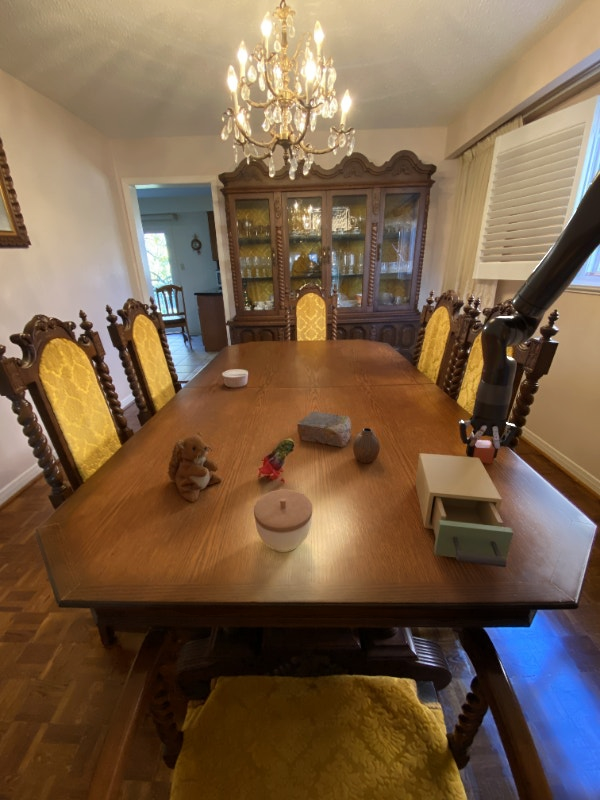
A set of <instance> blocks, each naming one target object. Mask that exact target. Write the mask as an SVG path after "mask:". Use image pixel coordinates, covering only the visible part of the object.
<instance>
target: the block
mask: <svg viewBox="0 0 600 800" xmlns="http://www.w3.org/2000/svg"><path fill="white" fill-rule="evenodd" d="M474 447H475V448H474V453H473V457H475V458H479V459H480V461H481V463H482V464H489V465H492V464H493V461H494V460H493V456H494V452H495V448H494V446H493V445H492V441H490V440H487V439H479V440H477V442H476V444H475V445H474Z"/></svg>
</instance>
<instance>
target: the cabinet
mask: <svg viewBox="0 0 600 800" xmlns="http://www.w3.org/2000/svg"><path fill="white" fill-rule="evenodd" d="M415 490H416V494H417V498H418V499H417V500H418V503H419V509H420V515H421V519H422V523H423V528H424V529H428V530H429V529H430V530H433V525H432V521H431V517H430V516H431V510H432V504H433V497H434V496H439V497H449V498H459V499H469V500H479V501H489V502H493V504H494V506H495V508H496V510H497V512H498V514H500V513H499V512H500V510H501V509H500V508H501V505H502V501H503V498H502V497H501V494H500V493H499V491H498V489H497V488H496V485H495V484H494V482H493V480H492V478H491V477H490V475H489V473H488V471H487V470H486V468H485V466H484V463H481V461H480V459H479V458H475V457H468V456H463V455H462V456H460V455H449V454H435V453H423V452H422V453H421V452H419V454H418V461H417V469H416V478H415Z"/></svg>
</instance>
